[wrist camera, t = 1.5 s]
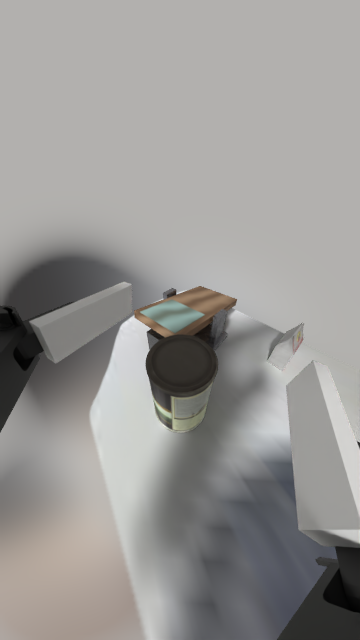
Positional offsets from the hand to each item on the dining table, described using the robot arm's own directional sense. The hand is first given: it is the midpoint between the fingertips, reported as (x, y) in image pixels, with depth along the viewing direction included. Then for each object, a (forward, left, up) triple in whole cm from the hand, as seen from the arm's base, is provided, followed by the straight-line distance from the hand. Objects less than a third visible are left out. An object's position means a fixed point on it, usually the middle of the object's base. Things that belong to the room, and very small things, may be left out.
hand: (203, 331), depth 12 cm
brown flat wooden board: (+17, -22, -18) cm, 33 cm away
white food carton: (-7, -29, -25) cm, 39 cm away
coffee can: (+5, -4, -25) cm, 26 cm away
